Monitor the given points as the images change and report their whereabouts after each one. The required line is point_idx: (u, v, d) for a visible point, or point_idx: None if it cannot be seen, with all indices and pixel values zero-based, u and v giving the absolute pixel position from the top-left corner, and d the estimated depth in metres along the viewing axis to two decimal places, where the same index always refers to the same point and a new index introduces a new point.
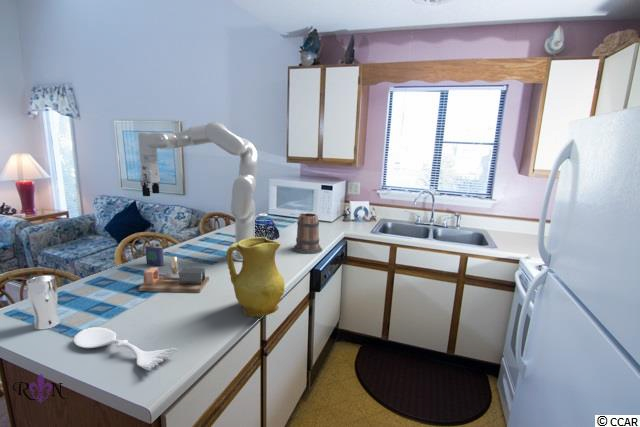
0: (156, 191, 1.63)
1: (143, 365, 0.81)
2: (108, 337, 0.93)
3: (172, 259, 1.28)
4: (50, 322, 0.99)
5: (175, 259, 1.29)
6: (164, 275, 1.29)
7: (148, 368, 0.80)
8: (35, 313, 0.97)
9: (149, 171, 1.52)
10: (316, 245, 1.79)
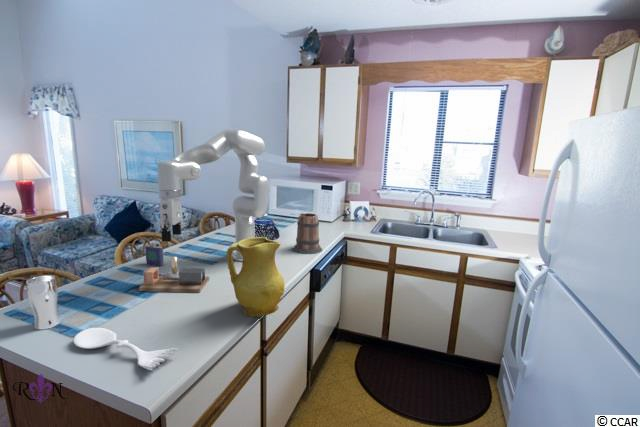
0: (177, 232, 1.32)
1: (144, 365, 0.81)
2: (108, 337, 0.93)
3: (172, 259, 1.28)
4: (50, 322, 0.99)
5: (175, 259, 1.29)
6: (164, 275, 1.29)
7: (149, 368, 0.80)
8: (35, 313, 0.97)
9: (170, 211, 1.21)
10: (316, 245, 1.79)
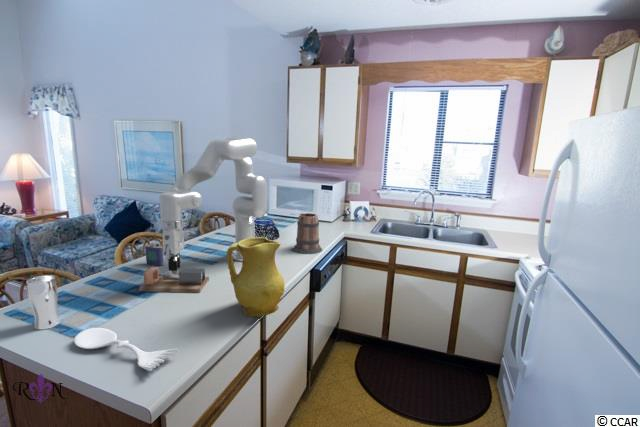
0: (176, 265, 1.31)
1: (144, 366, 0.81)
2: (109, 338, 0.93)
3: None
4: (50, 322, 0.99)
5: None
6: (164, 275, 1.29)
7: (149, 369, 0.79)
8: (35, 313, 0.97)
9: (173, 241, 1.23)
10: (316, 245, 1.79)
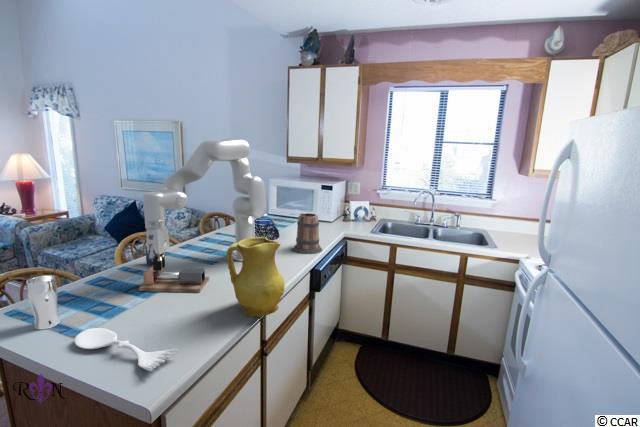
0: (161, 265, 1.31)
1: (144, 366, 0.81)
2: (109, 338, 0.93)
3: None
4: (50, 322, 0.99)
5: (160, 259, 1.29)
6: None
7: (150, 369, 0.79)
8: (35, 313, 0.97)
9: (157, 241, 1.23)
10: (316, 245, 1.79)
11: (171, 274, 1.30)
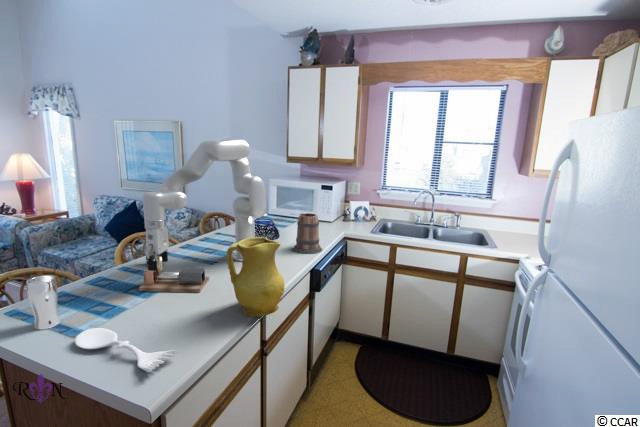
0: (164, 259, 1.34)
1: (144, 367, 0.81)
2: (109, 338, 0.93)
3: (157, 259, 1.28)
4: (50, 322, 0.99)
5: (160, 259, 1.29)
6: None
7: (149, 370, 0.79)
8: (35, 313, 0.97)
9: (156, 241, 1.23)
10: (316, 245, 1.79)
11: (171, 274, 1.30)
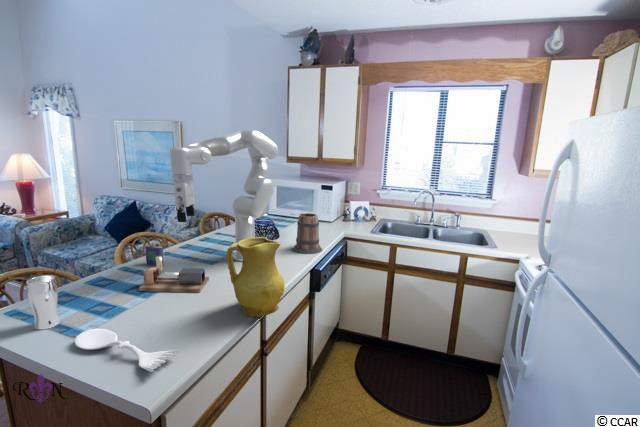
0: (191, 214, 1.41)
1: (145, 366, 0.81)
2: (109, 338, 0.93)
3: (157, 259, 1.28)
4: (50, 322, 0.99)
5: (160, 259, 1.29)
6: None
7: (150, 369, 0.79)
8: (35, 313, 0.97)
9: (184, 193, 1.29)
10: (316, 245, 1.79)
11: (171, 274, 1.30)
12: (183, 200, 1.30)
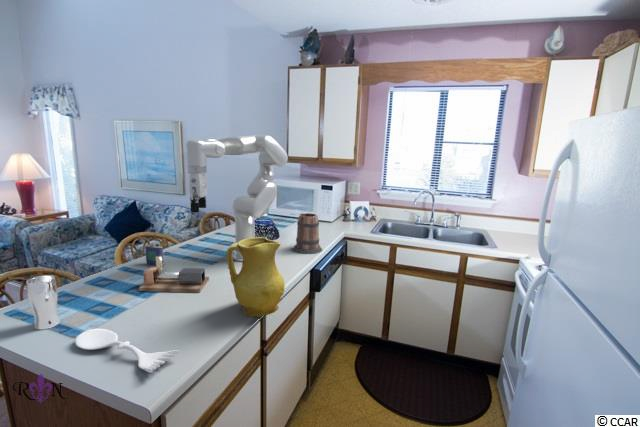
0: (203, 205, 1.45)
1: (145, 367, 0.81)
2: (110, 338, 0.93)
3: (157, 259, 1.28)
4: (50, 322, 0.99)
5: (160, 259, 1.29)
6: None
7: (150, 370, 0.79)
8: (35, 313, 0.97)
9: (198, 184, 1.34)
10: (316, 245, 1.79)
11: (171, 274, 1.30)
12: (197, 191, 1.34)
